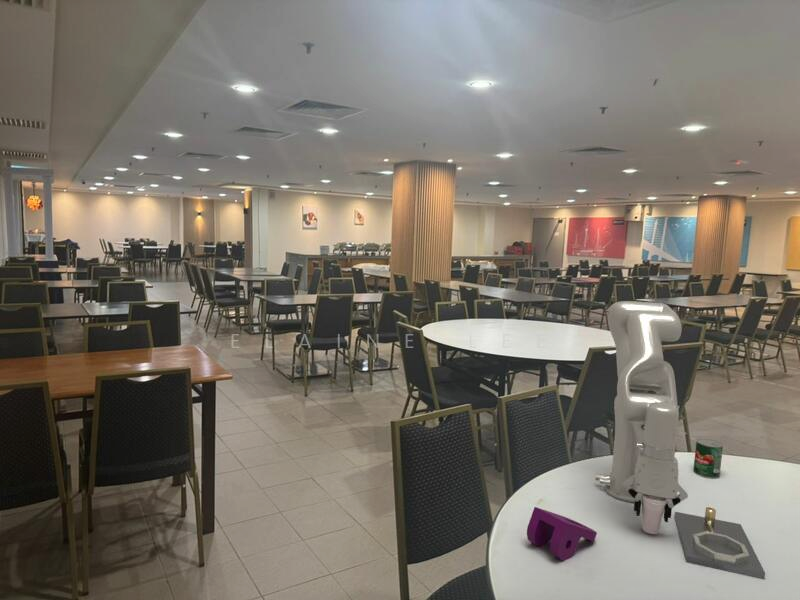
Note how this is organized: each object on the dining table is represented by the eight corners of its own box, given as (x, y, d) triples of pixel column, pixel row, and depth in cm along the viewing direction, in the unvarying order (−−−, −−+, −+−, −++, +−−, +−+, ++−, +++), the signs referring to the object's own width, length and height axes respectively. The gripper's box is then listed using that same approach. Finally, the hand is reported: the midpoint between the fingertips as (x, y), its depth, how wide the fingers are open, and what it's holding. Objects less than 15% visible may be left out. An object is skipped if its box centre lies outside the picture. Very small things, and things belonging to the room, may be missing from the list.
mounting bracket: (561, 550, 142) (522, 540, 132) (572, 519, 144) (534, 506, 133) (593, 568, 135) (554, 558, 124) (603, 535, 136) (566, 523, 126)
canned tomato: (691, 474, 182) (694, 442, 181) (695, 467, 188) (698, 436, 187) (718, 481, 177) (721, 448, 176) (721, 473, 183) (724, 442, 182)
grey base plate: (686, 561, 129) (688, 540, 128) (674, 516, 151) (676, 497, 150) (764, 579, 123) (767, 556, 122) (740, 529, 145) (742, 510, 145)
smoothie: (640, 520, 146) (646, 471, 144) (666, 530, 142) (672, 479, 140) (633, 530, 141) (639, 479, 139) (660, 540, 137) (666, 488, 135)
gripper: (622, 450, 138) (616, 516, 140) (698, 462, 132) (690, 531, 134) (621, 440, 145) (616, 503, 147) (693, 451, 139) (686, 517, 141)
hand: (651, 516), depth 141 cm, fingers closed on smoothie, 6 cm apart
